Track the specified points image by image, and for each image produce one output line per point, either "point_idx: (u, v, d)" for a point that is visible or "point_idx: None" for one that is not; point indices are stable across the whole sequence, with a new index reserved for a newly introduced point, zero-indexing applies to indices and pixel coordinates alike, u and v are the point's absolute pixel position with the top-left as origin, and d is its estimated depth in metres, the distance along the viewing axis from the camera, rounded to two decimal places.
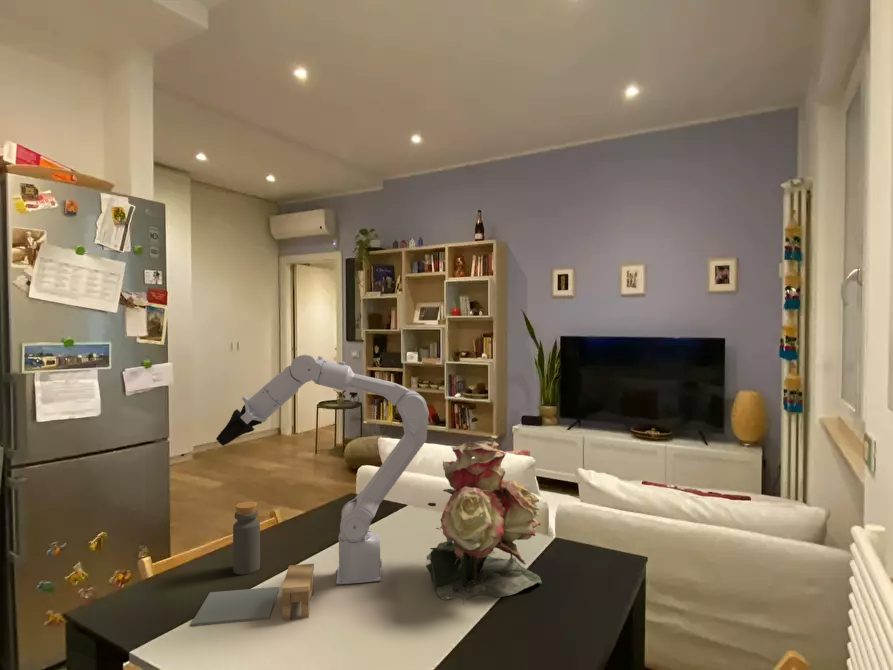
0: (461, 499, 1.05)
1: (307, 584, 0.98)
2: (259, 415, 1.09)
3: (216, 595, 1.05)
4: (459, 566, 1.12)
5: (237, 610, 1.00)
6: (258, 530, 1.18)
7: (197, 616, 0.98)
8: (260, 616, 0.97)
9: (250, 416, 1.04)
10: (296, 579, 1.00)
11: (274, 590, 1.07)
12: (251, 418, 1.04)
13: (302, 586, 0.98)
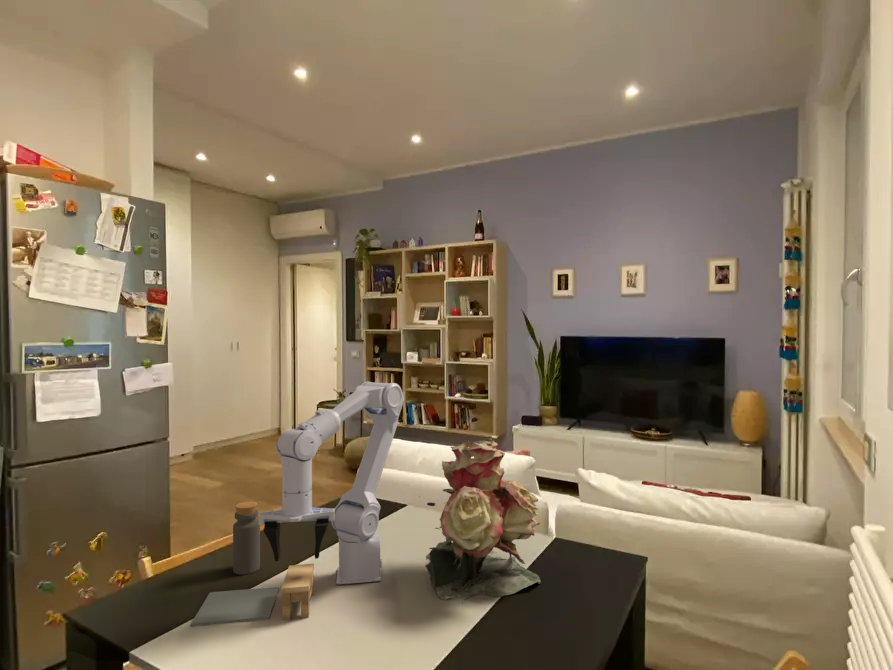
0: (460, 499, 1.05)
1: (307, 584, 0.98)
2: (311, 508, 1.04)
3: (216, 595, 1.05)
4: (458, 566, 1.12)
5: (237, 610, 1.00)
6: (258, 530, 1.18)
7: (197, 616, 0.98)
8: (260, 616, 0.97)
9: (334, 510, 1.04)
10: (296, 579, 1.00)
11: (274, 590, 1.07)
12: (334, 510, 1.04)
13: (302, 586, 0.98)
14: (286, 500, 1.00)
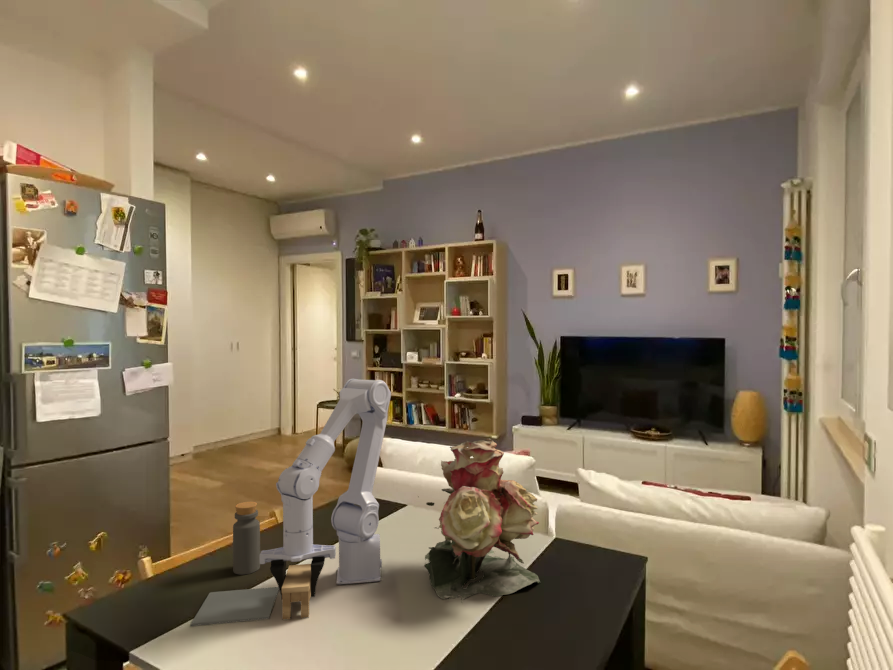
0: (459, 498, 1.05)
1: (307, 584, 0.98)
2: None
3: (216, 595, 1.05)
4: (457, 565, 1.12)
5: (237, 610, 1.00)
6: (258, 530, 1.18)
7: (197, 616, 0.98)
8: (260, 616, 0.97)
9: (335, 548, 1.04)
10: (296, 579, 1.00)
11: (274, 590, 1.07)
12: (335, 547, 1.04)
13: (302, 586, 0.98)
14: (287, 539, 1.00)
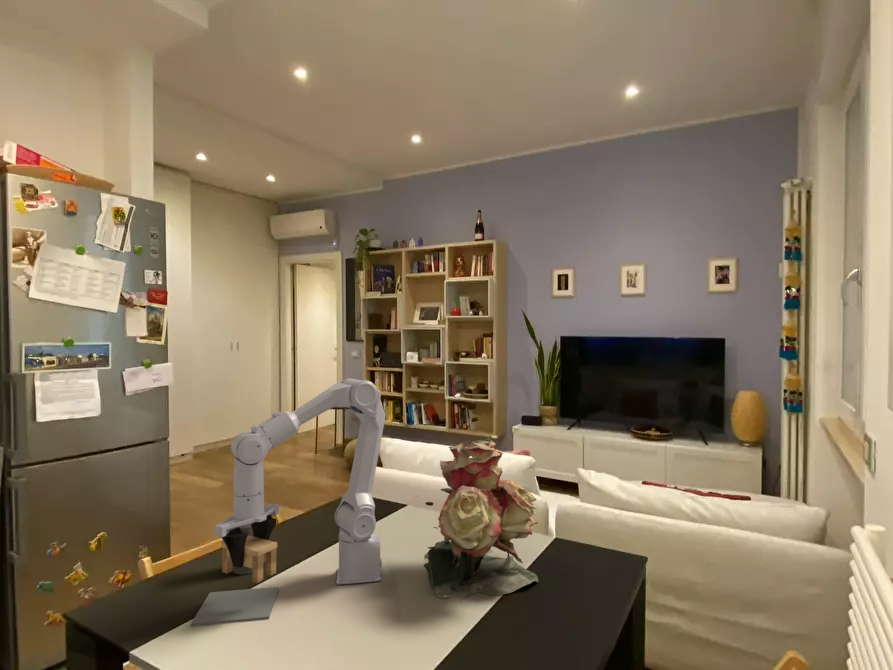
0: (459, 498, 1.05)
1: (273, 542, 1.02)
2: None
3: (216, 595, 1.05)
4: (456, 565, 1.12)
5: (237, 610, 1.00)
6: None
7: (197, 616, 0.98)
8: (260, 616, 0.97)
9: None
10: (255, 544, 1.01)
11: (274, 590, 1.07)
12: None
13: (272, 544, 1.01)
14: (249, 503, 1.00)
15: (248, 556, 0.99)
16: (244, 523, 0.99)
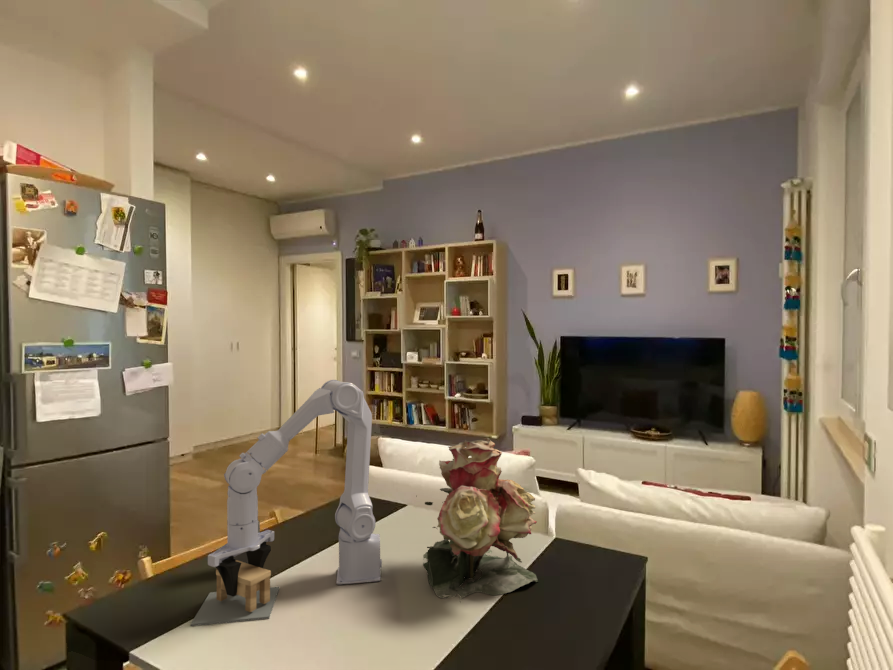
0: (458, 498, 1.06)
1: (267, 570, 1.02)
2: None
3: (216, 595, 1.05)
4: (456, 564, 1.12)
5: (237, 610, 1.00)
6: (258, 530, 1.18)
7: (197, 616, 0.98)
8: (260, 616, 0.97)
9: None
10: (249, 572, 1.01)
11: (274, 590, 1.07)
12: None
13: (265, 573, 1.01)
14: (242, 532, 1.00)
15: (241, 585, 0.99)
16: (237, 552, 0.99)
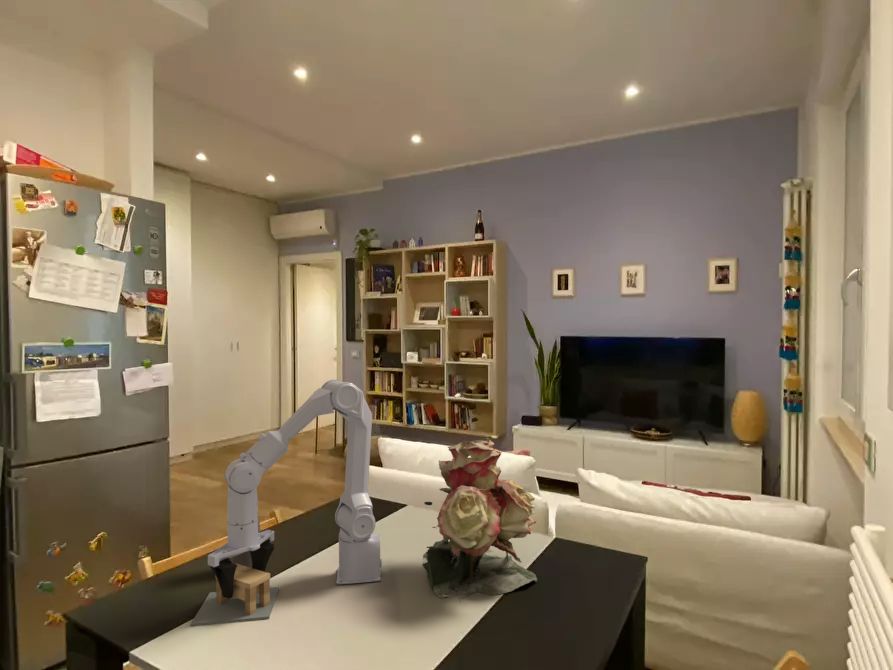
0: (457, 498, 1.06)
1: (266, 573, 1.02)
2: None
3: None
4: (455, 564, 1.12)
5: (237, 610, 1.00)
6: (258, 530, 1.18)
7: (197, 616, 0.98)
8: (260, 616, 0.97)
9: None
10: (248, 575, 1.01)
11: (274, 590, 1.07)
12: None
13: (264, 576, 1.01)
14: (242, 532, 1.00)
15: (241, 588, 0.99)
16: (237, 552, 0.99)
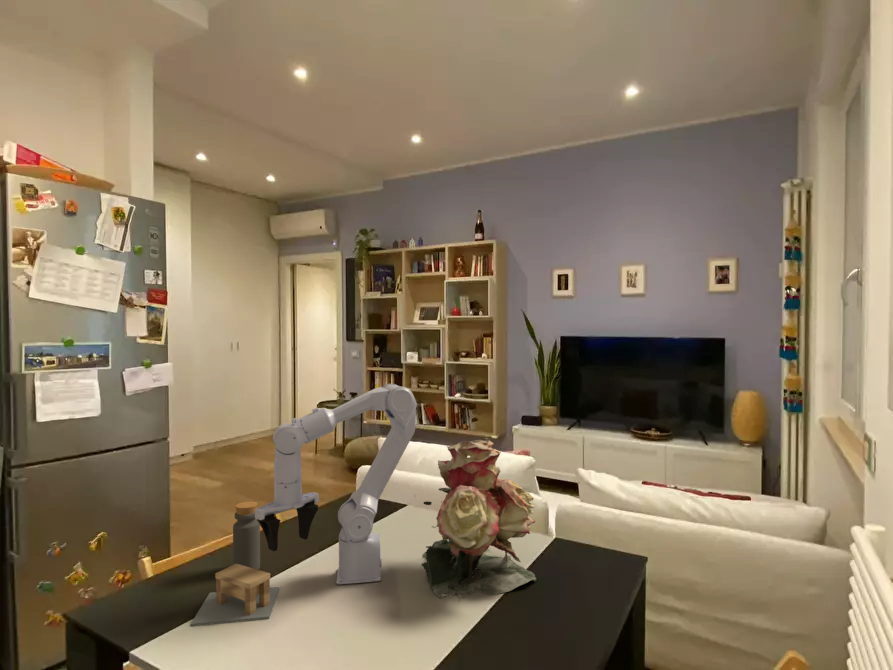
0: (457, 497, 1.06)
1: (266, 573, 1.02)
2: None
3: None
4: (455, 564, 1.13)
5: (237, 610, 1.00)
6: (258, 530, 1.18)
7: (197, 616, 0.98)
8: (260, 616, 0.97)
9: None
10: (248, 575, 1.01)
11: (274, 590, 1.07)
12: None
13: (264, 576, 1.01)
14: (286, 490, 1.07)
15: (241, 588, 0.99)
16: (281, 508, 1.06)
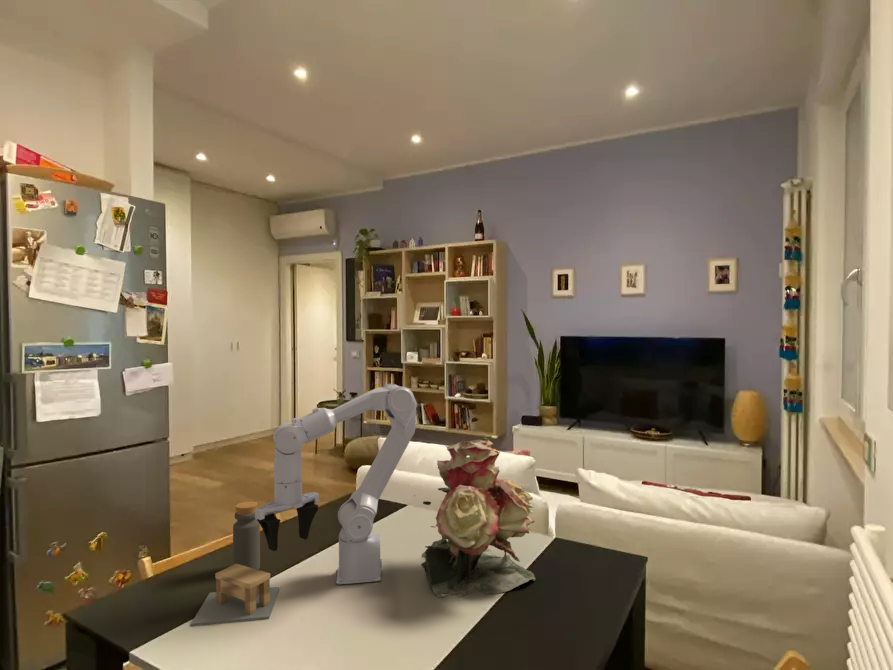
0: (456, 497, 1.06)
1: (266, 573, 1.02)
2: None
3: None
4: (454, 564, 1.13)
5: (237, 610, 1.00)
6: (258, 530, 1.18)
7: (197, 616, 0.98)
8: (260, 616, 0.97)
9: None
10: (248, 575, 1.01)
11: (274, 590, 1.07)
12: None
13: (264, 576, 1.01)
14: (286, 490, 1.07)
15: (241, 588, 0.99)
16: (281, 508, 1.06)
